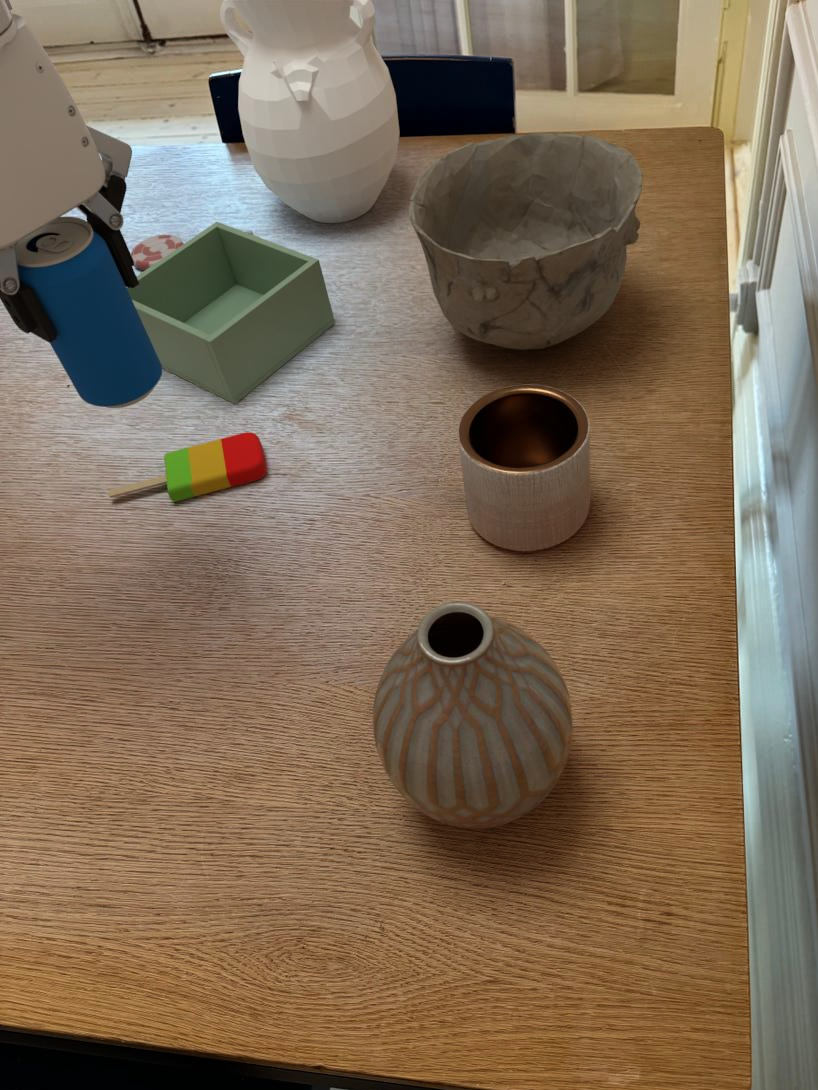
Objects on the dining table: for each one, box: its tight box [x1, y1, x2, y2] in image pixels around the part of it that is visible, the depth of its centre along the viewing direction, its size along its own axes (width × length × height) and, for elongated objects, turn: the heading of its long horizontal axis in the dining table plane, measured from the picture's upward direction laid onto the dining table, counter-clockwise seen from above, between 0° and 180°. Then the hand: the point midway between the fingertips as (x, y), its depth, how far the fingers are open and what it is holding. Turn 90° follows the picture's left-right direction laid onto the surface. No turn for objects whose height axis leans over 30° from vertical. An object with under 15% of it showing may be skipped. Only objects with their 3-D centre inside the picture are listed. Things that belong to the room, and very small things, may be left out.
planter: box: [456, 383, 591, 552], centre depth 75 cm, size 11×11×10 cm
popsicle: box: [107, 431, 267, 503], centre depth 84 cm, size 6×15×2 cm, turn 106°
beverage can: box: [15, 216, 163, 409], centre depth 63 cm, size 6×6×12 cm
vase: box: [372, 601, 574, 830], centre depth 57 cm, size 13×13×18 cm
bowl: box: [408, 132, 644, 351], centre depth 88 cm, size 22×22×15 cm
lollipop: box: [130, 230, 254, 271], centre depth 108 cm, size 7×1×15 cm
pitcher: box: [219, 0, 401, 224], centre depth 102 cm, size 19×18×25 cm
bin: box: [126, 221, 336, 405], centre depth 94 cm, size 16×16×8 cm
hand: (82, 305), depth 62 cm, fingers closed on beverage can, 6 cm apart
